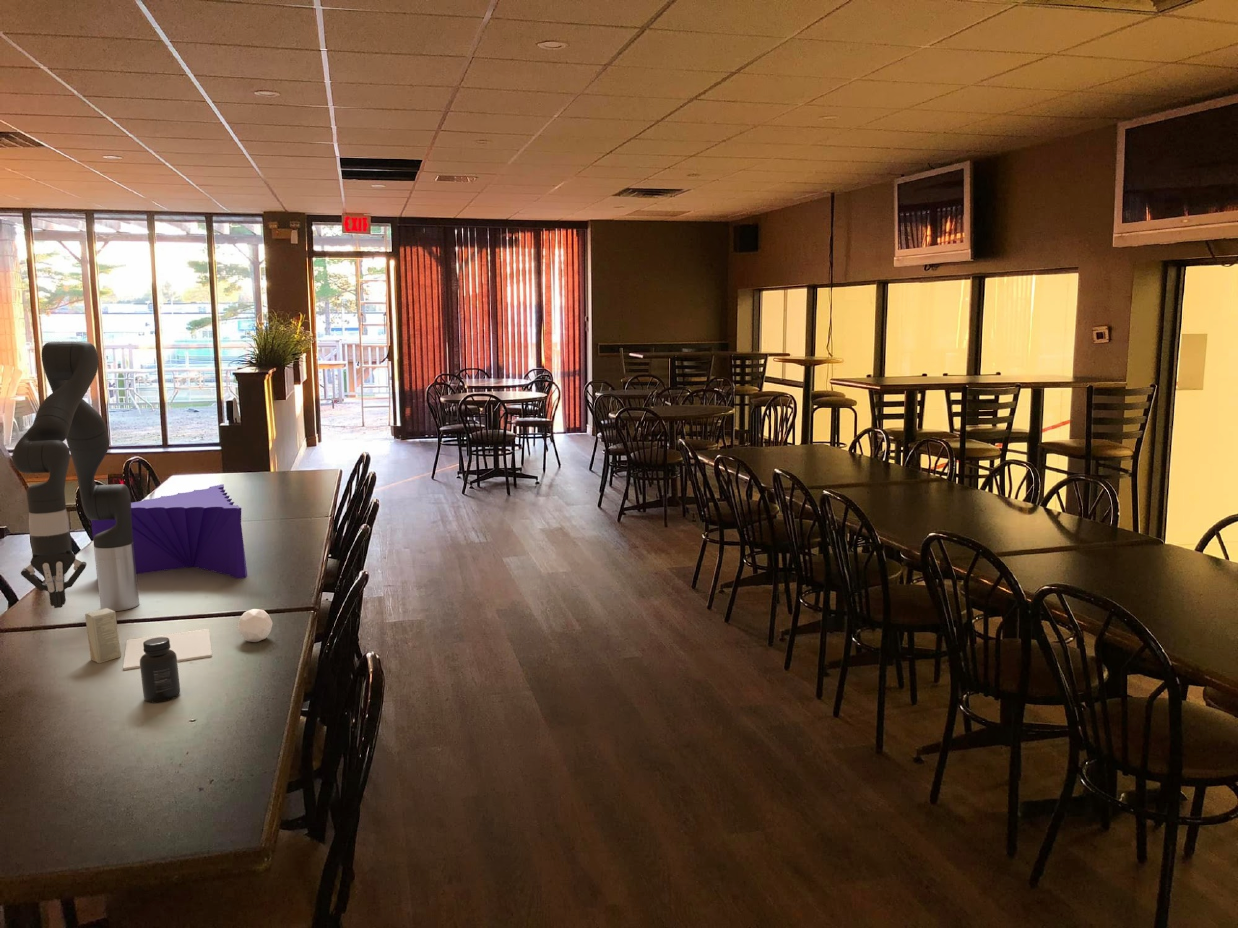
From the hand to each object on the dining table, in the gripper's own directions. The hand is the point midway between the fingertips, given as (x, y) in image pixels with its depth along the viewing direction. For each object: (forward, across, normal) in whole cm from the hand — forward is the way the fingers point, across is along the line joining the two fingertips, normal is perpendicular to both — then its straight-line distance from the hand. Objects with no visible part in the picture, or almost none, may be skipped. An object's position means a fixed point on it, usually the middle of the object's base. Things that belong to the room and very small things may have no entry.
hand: (58, 606), depth 208 cm
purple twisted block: (+13, -30, -84) cm, 90 cm away
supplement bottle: (+14, -20, +30) cm, 38 cm away
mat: (+13, -21, 0) cm, 25 cm away
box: (+14, -8, 0) cm, 16 cm away
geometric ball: (+14, -40, +3) cm, 42 cm away
